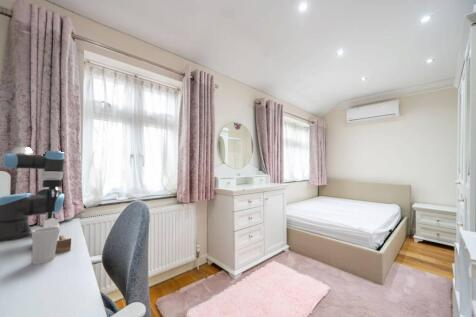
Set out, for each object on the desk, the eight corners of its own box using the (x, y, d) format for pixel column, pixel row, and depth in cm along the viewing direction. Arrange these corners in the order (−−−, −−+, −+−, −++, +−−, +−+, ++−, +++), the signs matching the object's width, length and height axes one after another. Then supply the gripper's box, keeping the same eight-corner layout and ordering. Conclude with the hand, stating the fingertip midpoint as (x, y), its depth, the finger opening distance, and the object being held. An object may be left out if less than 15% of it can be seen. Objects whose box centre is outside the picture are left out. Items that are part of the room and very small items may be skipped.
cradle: (33, 244, 94) (34, 234, 94) (62, 239, 102) (62, 229, 102) (37, 257, 79) (38, 244, 80) (70, 250, 87) (71, 238, 88)
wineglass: (47, 246, 92) (49, 220, 93) (37, 245, 93) (40, 220, 94) (60, 242, 97) (62, 218, 99) (51, 241, 99) (53, 217, 100)
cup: (24, 267, 71) (27, 233, 72) (34, 258, 78) (37, 228, 79) (53, 262, 75) (55, 230, 76) (60, 255, 82) (62, 226, 83)
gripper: (41, 179, 105) (37, 224, 103) (44, 179, 97) (39, 228, 95) (60, 179, 111) (56, 221, 109) (64, 179, 103) (60, 225, 100)
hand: (48, 224), depth 102 cm, fingers closed
